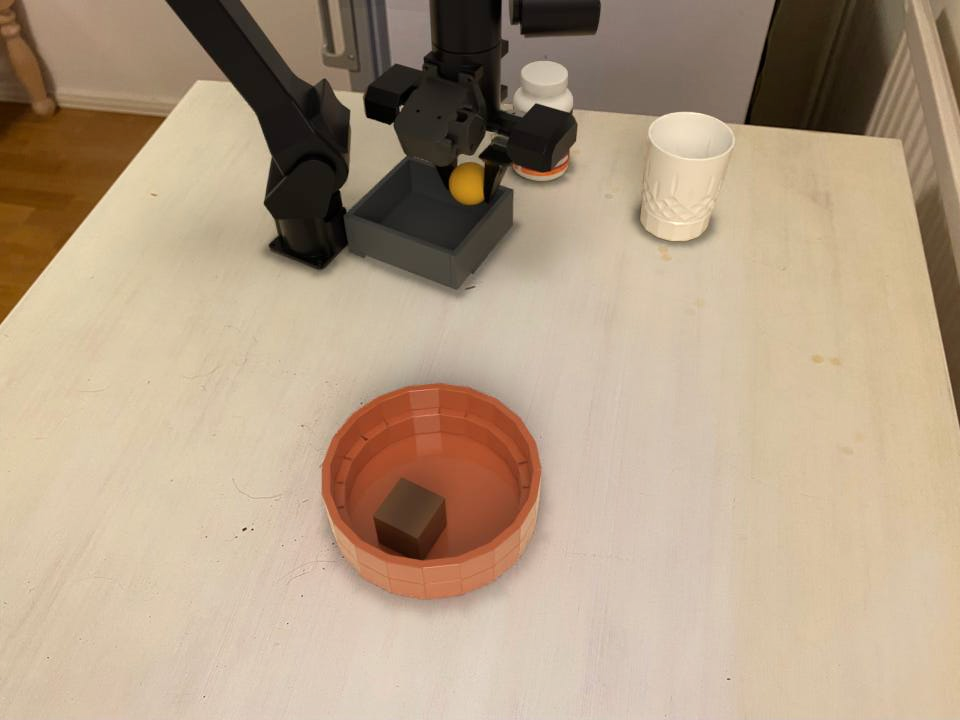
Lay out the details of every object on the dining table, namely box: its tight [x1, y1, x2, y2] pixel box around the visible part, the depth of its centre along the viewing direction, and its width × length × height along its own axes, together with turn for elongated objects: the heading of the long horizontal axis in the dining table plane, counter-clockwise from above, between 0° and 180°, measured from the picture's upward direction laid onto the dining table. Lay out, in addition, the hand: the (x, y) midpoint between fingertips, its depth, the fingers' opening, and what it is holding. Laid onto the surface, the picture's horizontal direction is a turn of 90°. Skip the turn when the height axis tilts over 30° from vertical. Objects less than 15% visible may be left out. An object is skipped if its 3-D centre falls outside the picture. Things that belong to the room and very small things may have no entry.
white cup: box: [639, 111, 736, 242], centre depth 78 cm, size 8×8×10 cm
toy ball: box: [449, 161, 484, 205], centre depth 76 cm, size 4×4×4 cm
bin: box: [343, 155, 514, 291], centre depth 79 cm, size 12×11×4 cm
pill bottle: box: [512, 60, 574, 182], centre depth 84 cm, size 6×6×11 cm
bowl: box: [321, 382, 543, 601], centre depth 58 cm, size 15×15×5 cm
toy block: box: [373, 477, 447, 560], centre depth 57 cm, size 4×4×4 cm
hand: (469, 194), depth 77 cm, fingers closed on toy ball, 4 cm apart
